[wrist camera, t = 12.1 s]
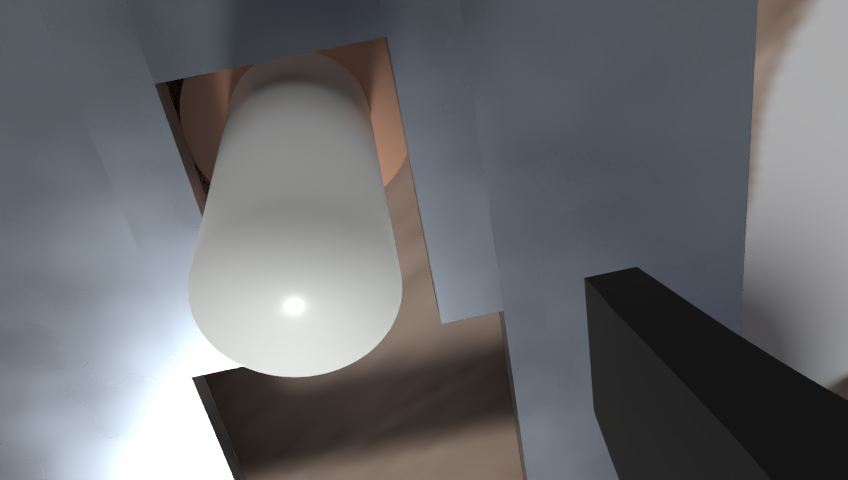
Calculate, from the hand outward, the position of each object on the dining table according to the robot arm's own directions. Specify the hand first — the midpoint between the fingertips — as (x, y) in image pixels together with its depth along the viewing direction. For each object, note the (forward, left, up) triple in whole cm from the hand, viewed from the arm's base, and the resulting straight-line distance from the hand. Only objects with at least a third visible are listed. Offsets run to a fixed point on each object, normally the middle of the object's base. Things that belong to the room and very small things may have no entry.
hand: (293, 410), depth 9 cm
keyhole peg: (0, 0, -10) cm, 10 cm away
